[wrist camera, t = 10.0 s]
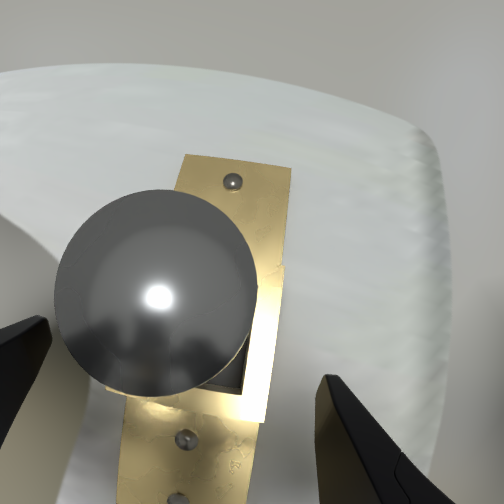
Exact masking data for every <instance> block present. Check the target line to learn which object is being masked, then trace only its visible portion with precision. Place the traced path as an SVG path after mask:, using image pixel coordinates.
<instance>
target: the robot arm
mask: <svg viewBox="0 0 504 504" xmlns="http://www.w3.org/2000/svg"><path fill="white" fill-rule="evenodd" d="M51 344H52V334H51V330H50V326H49V322H48V320H47V318H45V317H42V316H40V315H35V316H33V317H30V318H28V319H25V320H22V321H20V322H17V323H15V324H12V325H10V326H7V327H5V328H2V329H0V449H1V446H2V444H3V442H4V440H5V437H6V435H7V433H8V431H9V429H10V427H11V425H12V423H13V421H14V419H15V417H16V414H17V413H18V411H19V409H20V407H21V405H22V403H23V401H24V399H25V398H26V395H27V394H28V392H29V390H30V388H31V386H32V384H33V383H34V381H35V379H36V377H37V375H38V373H39V370H40V368H41V366H42V364H43V361H44V359H45V357H46V355H47V352H48V350H49V348H50V346H51ZM315 454H316V465H317V476H318V488H319V501H320V504H455V503H454V502H453V501H452V500H451V499H449V498H448V497H447V496H446V495H445V494H444V493H443V492H442V491H441V490H439V489H438V488H437V487H436V486H435V485H434V484H433V483H432V482H431V481H430V480H429V479H428V478H426V477H425V476H424V475H423V474H422V473H421V472H420V471H419V470H418V468H417V467H416V466H415V465H414V464H413V463H412V462H411V461H410V460H409V459H408V457H407V456H406V455H405V454H404V453H403V452H401V449H400V448H399V447H398V446H397V445H396V443H395V442H394V441H393V440H392V439H391V438H390V436H389V435H388V434H387V433H386V432H385V430H384V429H383V428H382V427H381V426H380V425H379V423H378V422H377V421H376V420H375V419H374V417H373V416H372V415H371V414H370V413H369V412H368V410H367V409H366V408H365V407H364V406H363V404H362V403H361V402H360V401H359V400H358V398H357V397H356V396H355V395H354V394H353V392H352V391H351V390H350V389H349V388H348V386H347V385H346V384H345V383H344V382H343V380H342V379H341V378H340V377H339V376H338V375H332V374H325V375H324V376H323V378H322V380H321V383H320V385H319V388H318V390H317V393H316V398H315Z"/></svg>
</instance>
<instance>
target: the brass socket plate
mask: <svg viewBox="0 0 504 504" xmlns="http://www.w3.org/2000/svg"><path fill="white" fill-rule="evenodd" d="M290 178H291V168H287V167H280V166H274V165H268V164H261V163H254V162H247V161H240V160H233V159H225V158H217V157H208V156H199V155H189V154H185V157H184V160H183V163H182V166H181V169H180V173H179V176H178V179H177V182H176V185H175V188H174V191H179V192H184V193H188V194H191V195H194V196H197V197H199V198H201V199H203V200H206V201H207V202H209V203H211V204H212V205H214V206H216V207H217V208H218V209H220V210H221V211H222V212H223V213H224V214H226V215H227V216H228V217H229V218H230V219H231V220H232V222H233V223H234V224H235V225H236V226H237V228H238V229H239V230H240V232H241V233H242V235H243V236H244V238H245V240H246V242H247V244H248V246H249V248H250V251H251V253H252V256H253V259H254V263H255V268H256V272H257V284H258V292H257V304H256V309H255V314H254V318H253V321H252V324H251V327H250V330H249V334H248V341H247V347H246V354H245V361H244V367H243V374H242V380H241V387H240V389H238V388H232V387H225V386H219V385H213V384H208V383H204V384H202V385H200V386H197V387H195V388H193V389H190V390H188V391H185V392H182V393H178V394H174V395H170V396H162V397H140V396H135V395H130V394H125V393H122V392H119V391H117V390H114V389H112V388H110V387H108V386H106V385H105V390H109V391H112V392H115V393H118V394H122V395H125V396H127V398H126V405H125V413H124V420H123V428H122V437H121V446H120V456H119V467H118V480H117V495H116V504H246V499H247V493H248V488H249V482H250V477H251V471H252V465H253V459H254V453H255V447H256V441H257V435H258V428H259V422H262V423H264V418H265V411H266V405H267V398H268V392H269V385H270V378H271V371H272V364H273V357H274V349H275V342H276V334H277V327H278V319H279V311H280V303H281V295H282V287H283V278H284V270H285V266H282V265H281V261H282V253H283V244H284V235H285V226H286V217H287V207H288V198H289V188H290Z"/></svg>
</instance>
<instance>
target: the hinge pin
mask: <svg viewBox="0 0 504 504" xmlns="http://www.w3.org/2000/svg"><path fill="white" fill-rule="evenodd" d="M257 292H258V284H257V272H256V268H255V263H254V259H253V256H252V253H251V251H250V248H249V246H248V244H247V242H246V240H245V238H244V236H243V235H242V233H241V232H240V230H239V229H238V228H237V226H236V225H235V224H234V223H233V222H232V220H231V219H230V218H229V217H228V216H227V215H226V214H224V213H223V212H222V211H221V210H220V209H218V208H217V207H216V206H214V205H212V204H211V203H209V202H207V201H206V200H203V199H201V198H199V197H197V196H194V195H191V194H188V193H184V192H179V191H173V190H147V191H142V192H137V193H133V194H130V195H127V196H124V197H121V198H119V199H117V200H115V201H113V202H111V203H109V204H107V205H106V206H104V207H103V208H101V209H100V210H98V211H97V212H96V213H94V214H93V215H92V216H91V217H90V218H89V219H88V220H87V221H86V222H85V223H84V224H83V225H82V226H81V227H80V228H79V230H78V231H77V232H76V233H75V235H74V236H73V238H72V239H71V241H70V242H69V244H68V246H67V248H66V250H65V252H64V254H63V256H62V259H61V262H60V264H59V268H58V271H57V276H56V281H55V290H54V306H55V313H56V319H57V323H58V327H59V330H60V333H61V335H62V338H63V340H64V342H65V344H66V346H67V348H68V350H69V351H70V353H71V355H72V356H73V357H74V358H75V360H76V361H77V362H78V364H79V365H80V366H81V367H82V368H83V369H84V370H85V371H86V372H87V373H88V374H89V375H91V376H92V377H93V378H95V379H96V380H98V381H99V382H100V383H102V384H104V385H106V386H108V387H110V388H112V389H114V390H117V391H119V392H122V393H125V394H130V395H135V396H140V397H162V396H170V395H174V394H178V393H182V392H185V391H188V390H190V389H193V388H195V387H197V386H200V385H202V384H204V383H205V382H207V381H209V380H210V379H212V378H214V377H215V376H216V375H217V374H219V373H220V372H221V371H222V370H223V369H225V368H226V366H227V365H228V364H229V363H230V362H231V361H232V360H233V359H234V358H235V356H236V355H237V353H238V352H239V350H240V349H241V347H242V345H243V344H244V342H245V340H246V338H247V336H248V333H249V330H250V327H251V324H252V321H253V318H254V314H255V309H256V304H257Z"/></svg>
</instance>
